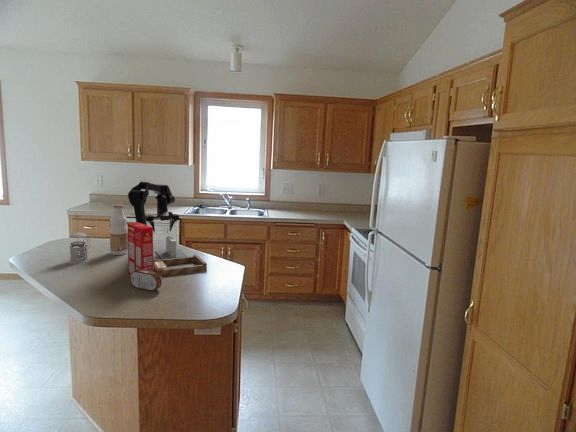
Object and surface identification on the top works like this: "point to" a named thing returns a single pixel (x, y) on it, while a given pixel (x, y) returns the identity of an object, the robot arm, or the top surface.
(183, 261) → the brown rectangular shallow frame
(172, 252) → the panel
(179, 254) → the mat
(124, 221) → the fruit juice
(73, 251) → the french press
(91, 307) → the top surface
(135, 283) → the tin
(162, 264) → the offcut stack
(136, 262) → the food packaging
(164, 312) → the top surface
